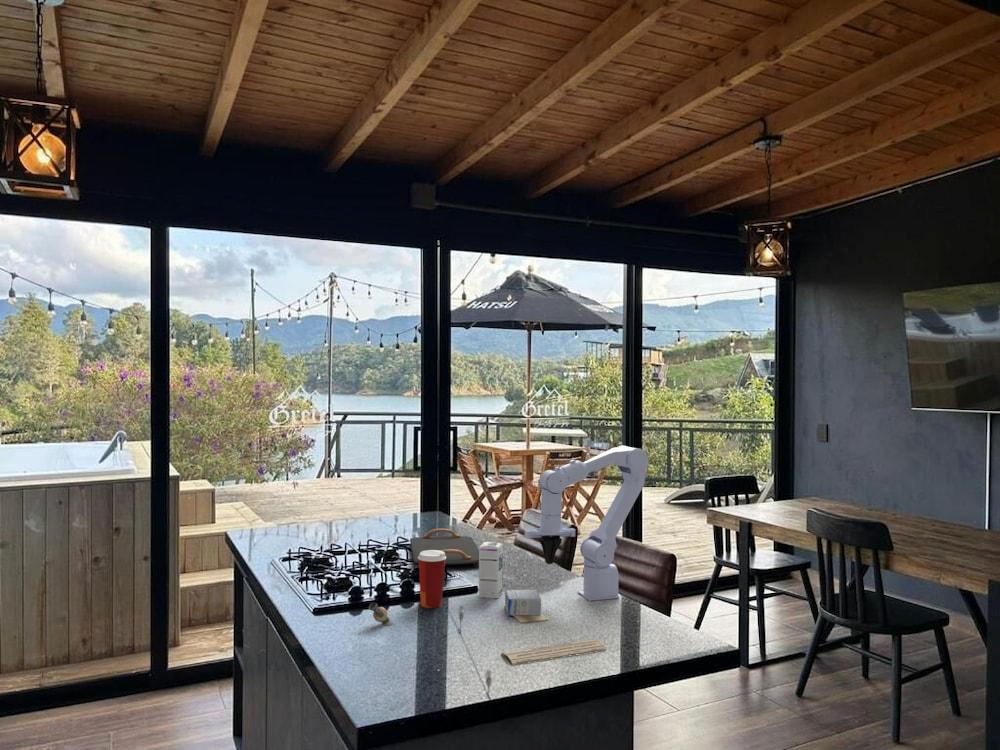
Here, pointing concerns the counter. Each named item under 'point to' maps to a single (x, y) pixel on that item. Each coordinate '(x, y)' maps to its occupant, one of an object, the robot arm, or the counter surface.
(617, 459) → the robot arm
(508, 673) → the counter surface
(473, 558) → the serving board
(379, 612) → the vase
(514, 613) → the medicine box
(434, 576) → the paper cup
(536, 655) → the tan ridged strip
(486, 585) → the syrup box
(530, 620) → the cork mat
